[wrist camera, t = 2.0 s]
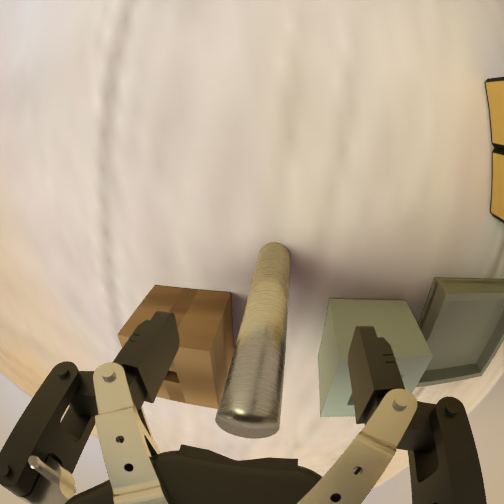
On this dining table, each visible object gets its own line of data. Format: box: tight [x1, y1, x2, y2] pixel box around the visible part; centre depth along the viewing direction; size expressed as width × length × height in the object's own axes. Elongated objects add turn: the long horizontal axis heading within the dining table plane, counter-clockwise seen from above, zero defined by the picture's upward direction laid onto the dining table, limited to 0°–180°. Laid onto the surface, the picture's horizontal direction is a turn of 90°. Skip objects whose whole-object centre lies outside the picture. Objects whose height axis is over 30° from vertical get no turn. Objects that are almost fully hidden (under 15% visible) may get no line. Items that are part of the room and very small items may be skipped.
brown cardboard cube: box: [118, 285, 234, 409], centre depth 19 cm, size 6×6×6 cm
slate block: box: [318, 298, 433, 417], centre depth 17 cm, size 6×6×6 cm
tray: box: [416, 278, 504, 387], centre depth 18 cm, size 10×10×2 cm
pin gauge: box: [215, 243, 290, 438], centre depth 13 cm, size 2×2×12 cm
